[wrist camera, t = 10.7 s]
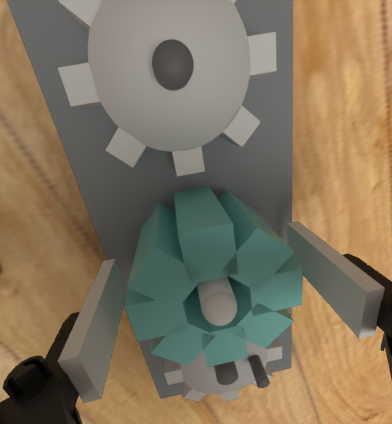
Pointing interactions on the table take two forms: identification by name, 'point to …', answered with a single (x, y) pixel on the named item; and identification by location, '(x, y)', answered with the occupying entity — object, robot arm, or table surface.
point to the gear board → (155, 170)
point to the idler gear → (210, 278)
